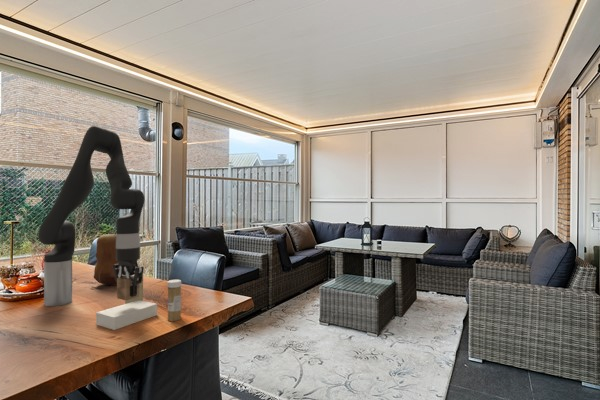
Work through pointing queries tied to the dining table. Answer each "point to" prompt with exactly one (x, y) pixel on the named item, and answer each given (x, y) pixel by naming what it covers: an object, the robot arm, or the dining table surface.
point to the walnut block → (125, 289)
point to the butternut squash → (106, 259)
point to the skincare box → (139, 294)
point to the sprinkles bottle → (174, 300)
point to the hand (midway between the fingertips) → (128, 294)
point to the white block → (126, 314)
